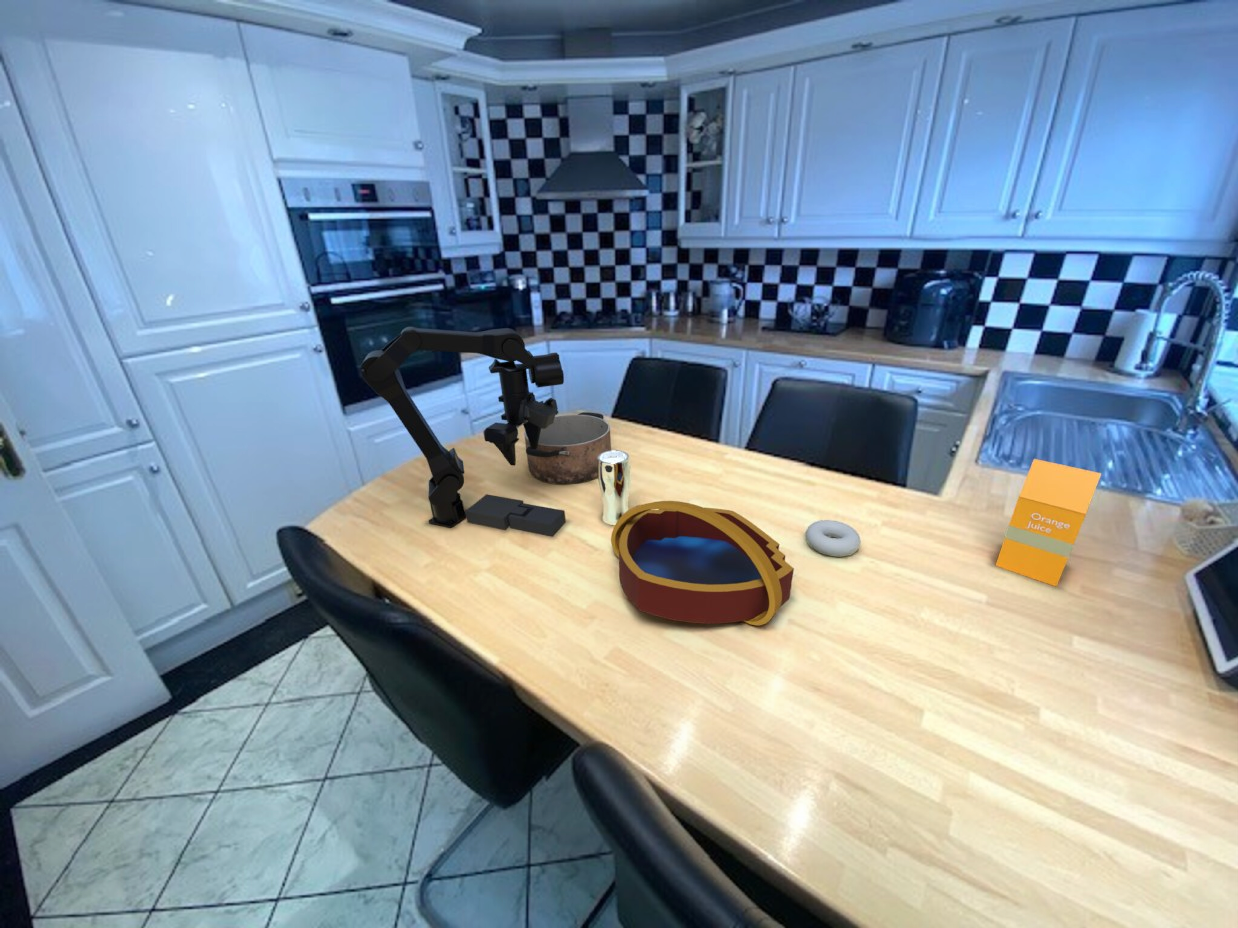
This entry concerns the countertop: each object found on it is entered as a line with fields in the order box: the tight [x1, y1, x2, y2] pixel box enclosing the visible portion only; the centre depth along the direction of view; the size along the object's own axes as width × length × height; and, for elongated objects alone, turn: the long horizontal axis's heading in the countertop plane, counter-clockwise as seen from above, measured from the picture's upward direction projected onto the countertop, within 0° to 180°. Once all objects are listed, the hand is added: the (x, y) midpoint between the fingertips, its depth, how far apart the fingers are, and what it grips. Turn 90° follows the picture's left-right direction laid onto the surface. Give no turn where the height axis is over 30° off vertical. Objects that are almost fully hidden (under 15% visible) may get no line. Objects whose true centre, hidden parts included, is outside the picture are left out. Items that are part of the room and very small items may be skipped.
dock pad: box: [464, 494, 528, 531], centre depth 113 cm, size 13×8×3 cm, turn 68°
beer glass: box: [597, 449, 632, 526], centre depth 108 cm, size 7×7×15 cm
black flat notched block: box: [508, 502, 567, 537], centre depth 110 cm, size 10×6×3 cm, turn 68°
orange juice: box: [995, 458, 1102, 587], centre depth 87 cm, size 8×9×20 cm
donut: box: [805, 519, 861, 557], centre depth 98 cm, size 10×4×10 cm
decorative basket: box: [610, 500, 795, 626], centre depth 88 cm, size 34×29×15 cm
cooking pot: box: [523, 411, 612, 485], centre depth 134 cm, size 30×22×11 cm
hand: (524, 456), depth 114 cm, fingers open, 9 cm apart
